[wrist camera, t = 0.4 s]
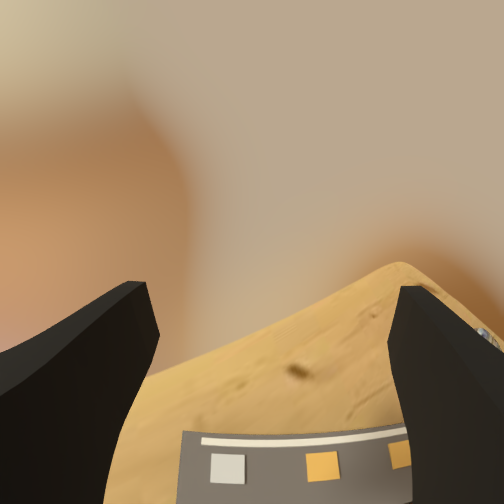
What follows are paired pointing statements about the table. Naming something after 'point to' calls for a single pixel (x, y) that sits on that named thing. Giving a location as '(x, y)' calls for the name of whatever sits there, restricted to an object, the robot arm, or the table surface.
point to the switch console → (297, 468)
